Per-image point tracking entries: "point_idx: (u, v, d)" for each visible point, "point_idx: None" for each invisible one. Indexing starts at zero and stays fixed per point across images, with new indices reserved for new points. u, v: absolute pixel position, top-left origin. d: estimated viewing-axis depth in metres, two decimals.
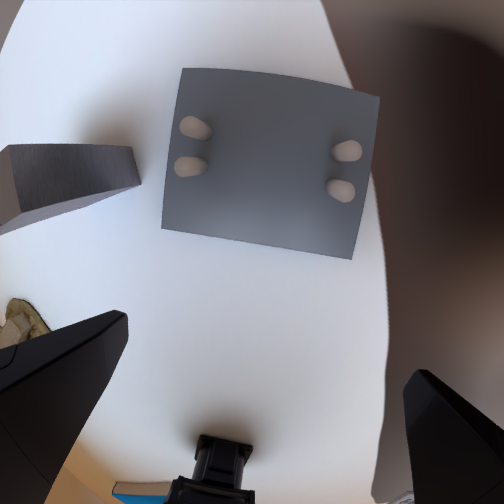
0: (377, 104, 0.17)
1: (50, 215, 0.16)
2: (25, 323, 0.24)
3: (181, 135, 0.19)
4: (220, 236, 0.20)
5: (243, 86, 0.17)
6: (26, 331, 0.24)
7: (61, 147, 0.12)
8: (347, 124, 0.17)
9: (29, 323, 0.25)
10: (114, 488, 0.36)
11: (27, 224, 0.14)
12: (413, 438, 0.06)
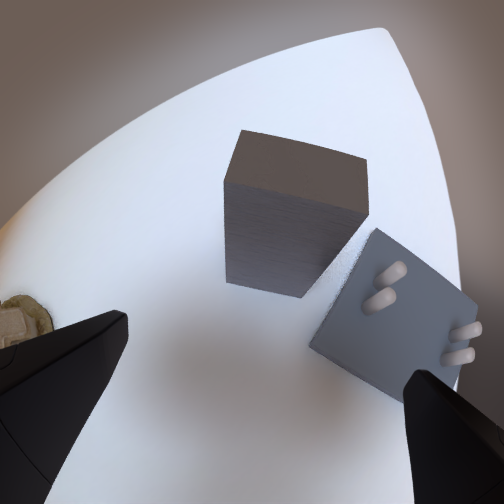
0: (476, 310, 0.22)
1: (249, 254, 0.17)
2: (33, 333, 0.17)
3: (362, 277, 0.22)
4: (361, 373, 0.19)
5: (411, 265, 0.23)
6: None
7: None
8: (460, 318, 0.21)
9: None
10: None
11: (235, 237, 0.15)
12: (413, 438, 0.06)
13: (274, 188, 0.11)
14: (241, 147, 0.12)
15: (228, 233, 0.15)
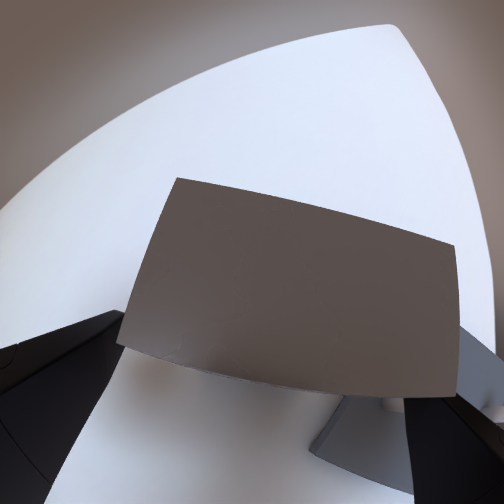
0: None
1: None
2: None
3: None
4: (373, 479, 0.12)
5: None
6: None
7: None
8: (493, 391, 0.14)
9: None
10: None
11: None
12: (413, 438, 0.06)
13: (246, 370, 0.04)
14: (167, 233, 0.05)
15: None
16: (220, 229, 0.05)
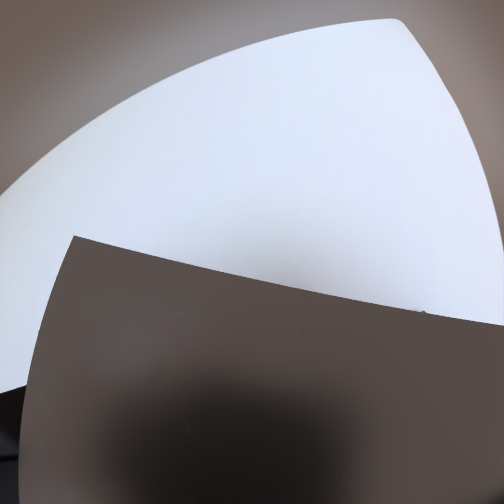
0: None
1: None
2: None
3: None
4: None
5: None
6: None
7: None
8: None
9: None
10: None
11: None
12: None
13: None
14: (53, 358, 0.02)
15: None
16: (143, 363, 0.02)
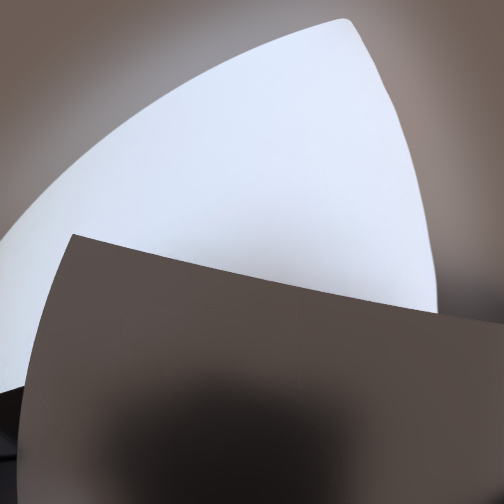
0: None
1: None
2: None
3: None
4: None
5: None
6: None
7: None
8: None
9: None
10: None
11: None
12: None
13: None
14: (51, 355, 0.02)
15: None
16: (141, 360, 0.02)
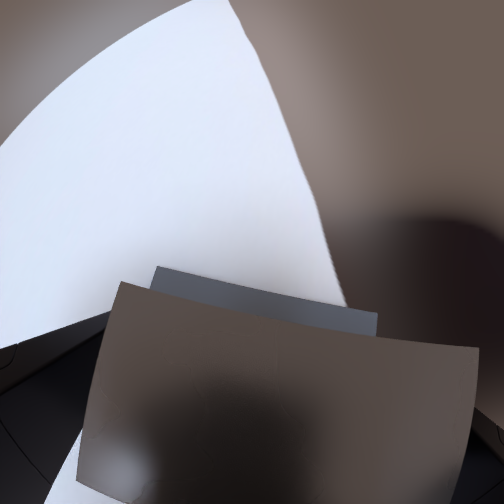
0: (375, 322, 0.16)
1: None
2: None
3: None
4: None
5: (224, 302, 0.16)
6: None
7: None
8: None
9: None
10: None
11: None
12: None
13: None
14: (112, 366, 0.03)
15: None
16: (177, 367, 0.03)
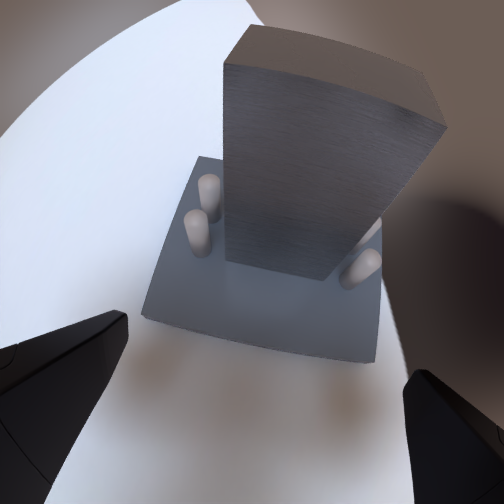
0: None
1: (258, 209, 0.12)
2: None
3: None
4: (216, 332, 0.15)
5: None
6: None
7: None
8: None
9: None
10: None
11: (239, 179, 0.10)
12: (413, 438, 0.06)
13: (307, 74, 0.06)
14: (250, 36, 0.07)
15: (229, 172, 0.10)
16: (281, 37, 0.07)
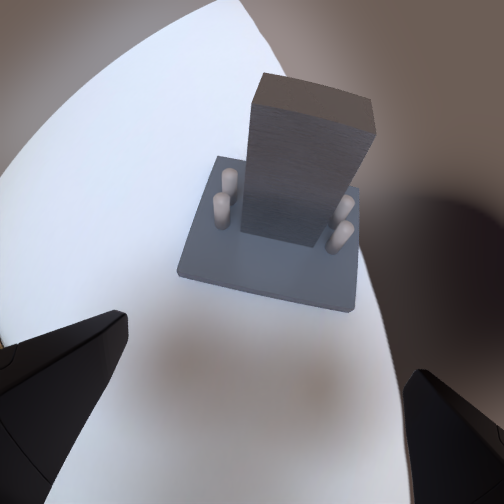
0: (358, 192, 0.26)
1: (266, 189, 0.18)
2: None
3: (210, 199, 0.24)
4: (234, 283, 0.22)
5: None
6: None
7: None
8: None
9: None
10: None
11: (256, 169, 0.16)
12: (413, 438, 0.06)
13: (295, 110, 0.12)
14: (264, 83, 0.13)
15: (249, 164, 0.16)
16: (281, 84, 0.13)
